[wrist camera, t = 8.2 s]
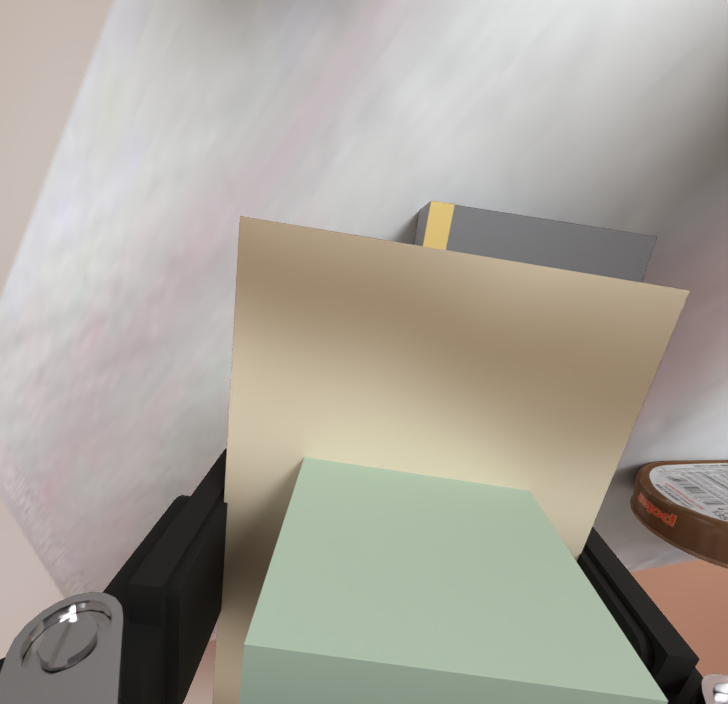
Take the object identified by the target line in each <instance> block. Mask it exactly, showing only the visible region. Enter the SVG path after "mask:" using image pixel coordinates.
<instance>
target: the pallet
mask: <svg viewBox="0 0 728 704" xmlns="http://www.w3.org/2000/svg"><path fill="white" fill-rule="evenodd" d="M689 292H690V291H689V290H683V289H677V288H671V287H665V286H659V285H653V284H647V283H641V282H635V281H629V280H623V279H617V278H611V277H605V276H599V275H593V274H587V273H581V272H575V271H569V270H563V269H557V268H551V267H545V266H539V265H533V264H527V263H521V262H515V261H509V260H502V259H496V258H490V257H484V256H478V255H472V254H466V253H460V252H454V251H448V250H442V249H436V248H430V247H424V246H418V245H412V244H406V243H400V242H394V241H388V240H382V239H376V238H370V237H364V236H358V235H352V234H346V233H340V232H334V231H328V230H322V229H316V228H310V227H304V226H298V225H292V224H286V223H279V222H273V221H267V220H261V219H255V218H249V217H243V216H240V224H239V242H238V260H237V278H236V296H235V313H234V331H233V349H232V367H231V385H230V403H229V421H228V439H227V456H226V474H225V492H224V502H226V503H228V506H227V523H226V540H225V557H224V573H223V590H222V607H221V612H220V615H219V617H218V620H217V635H216V653H215V655H216V656H215V671H214V690H213V704H239V699H240V687H241V675H242V663H243V651H244V643H245V640H246V637H247V634H248V631H249V628H250V624H251V621H252V618H253V615H254V612H255V609H256V606H257V603H258V600H259V596H260V593H261V590H262V587H263V584H264V581H265V578H266V575H267V572H268V569H269V565H270V562H271V559H272V556H273V553H274V550H275V547H276V544H277V541H278V537H279V534H280V531H281V528H282V525H283V522H284V519H285V516H286V513H287V510H288V506H289V503H290V500H291V497H292V494H293V491H294V488H295V485H296V482H297V478H298V475H299V472H300V469H301V466H302V463H303V460H304V457H306V458H313V459H320V460H326V461H333V462H340V463H347V464H353V465H360V466H367V467H374V468H380V469H387V470H394V471H401V472H407V473H414V474H421V475H428V476H434V477H441V478H448V479H455V480H461V481H468V482H475V483H482V484H488V485H495V486H502V487H509V488H515V489H522V490H529V491H530V492H531V493H532V495H533V496H534V498H535V499H536V501H537V503H538V504H539V506H540V507H541V509H542V510H543V512H544V513H545V515H546V516H547V518H548V519H549V521H550V522H551V524H552V525H553V527H554V528H555V530H556V531H557V533H558V534H559V536H560V537H561V539H562V541H563V542H564V544H565V545H566V547H567V548H568V550H569V551H570V553H571V554H572V556H573V557H574V559H575V560H576V562H577V560H578V557H579V555H580V554H581V553H582V550H583V548H584V545H585V543H586V541H587V538H588V536H589V533H590V531H591V529H592V526H593V524H594V521H595V519H596V516H597V514H598V512H599V509H600V507H601V504H602V502H603V500H604V497H605V495H606V492H607V490H608V487H609V485H610V483H611V480H612V478H613V475H614V473H615V471H616V468H617V466H618V463H619V461H620V458H621V456H622V454H623V451H624V449H625V446H626V444H627V442H628V439H629V437H630V434H631V432H632V430H633V427H634V425H635V422H636V420H637V417H638V415H639V413H640V410H641V408H642V405H643V403H644V401H645V398H646V396H647V393H648V391H649V388H650V386H651V384H652V381H653V379H654V376H655V374H656V372H657V369H658V367H659V364H660V362H661V359H662V357H663V355H664V352H665V350H666V347H667V345H668V343H669V340H670V338H671V335H672V333H673V330H674V328H675V326H676V323H677V321H678V318H679V316H680V314H681V311H682V309H683V306H684V304H685V302H686V299H687V297H688V294H689Z"/></svg>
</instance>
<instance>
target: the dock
mask: <svg viewBox="0 0 728 704" xmlns="http://www.w3.org/2000/svg"><path fill="white" fill-rule="evenodd" d="M656 239H657V237H656V236H649V235H643V234H637V233H630V232H624V231H618V230H611V229H605V228H598V227H592V226H586V225H579V224H573V223H567V222H560V221H554V220H548V219H541V218H535V217H528V216H522V215H516V214H509V213H503V212H497V211H490V210H484V209H478V208H471V207H465V206H459V205H455V204H449V203H443V202H436V201H431V202H429V203H428V204H427V205H426V206H424V207H423V208H422V209H421V210H419V215H418V221H417V227H416V233H415V238H414V244H413V245H418V246H424V247H430V248H436V249H442V250H448V251H454V252H460V253H466V254H472V255H478V256H484V257H490V258H496V259H502V260H509V261H515V262H521V263H527V264H533V265H539V266H545V267H551V268H557V269H563V270H569V271H575V272H581V273H587V274H593V275H599V276H605V277H611V278H617V279H623V280H629V281H635V282H641V281H642V279H643V276H644V273H645V270H646V267H647V264H648V262H649V259H650V256H651V253H652V250H653V247H654V244H655V242H656Z"/></svg>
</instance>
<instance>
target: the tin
mask: <svg viewBox="0 0 728 704" xmlns="http://www.w3.org/2000/svg"><path fill="white" fill-rule="evenodd" d="M630 504H631V508H632V511H633V512H634V514H635V516H636V517H637V518H638V519H639V521H640V522H641V523H642V524H643V525H644V526H646V527H647V528H648V529H649V530H650V531H652V532H653V533H654V534H656V535H657V536H658V537H660V538H661V539H663V540H664V541H666V542H668V543H670V544H671V545H673V546H675V547H677V548H679V549H681V550H682V551H684V552H686V553H688V554H691V555H693V556H695V557H697V558H699V559H702V560H704V561H707V562H709V563H712V564H715V565H718V566H721V567H724V568H728V460H703V461H661V462H653V463H649V464H646V465H644V466H643V467H641V468H640V469H639V471H638V473H637V476H636V480H635V486H634V493H633V495H632V497H631V500H630Z"/></svg>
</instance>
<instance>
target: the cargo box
mask: <svg viewBox="0 0 728 704" xmlns="http://www.w3.org/2000/svg"><path fill="white" fill-rule="evenodd" d="M667 703H668V700H667V698H666V697H665V695H664V694H663V692H662V691H661V689H660V688H659V686H658V685H657V683H656V682H655V680H654V679H653V677H652V676H651V674H650V673H649V671H648V670H647V668H646V667H645V665H644V664H643V662H642V661H641V659H640V657H639V656H638V654H637V653H636V651H635V650H634V648H633V647H632V645H631V644H630V642H629V641H628V639H627V638H626V636H625V635H624V633H623V632H622V630H621V629H620V627H619V626H618V624H617V623H616V621H615V620H614V618H613V616H612V615H611V613H610V612H609V610H608V609H607V607H606V606H605V604H604V603H603V601H602V600H601V598H600V597H599V595H598V594H597V592H596V591H595V589H594V588H593V586H592V585H591V583H590V582H589V580H588V578H587V577H586V575H585V574H584V572H583V571H582V569H581V568H580V566H579V565H578V563H577V562H576V560H575V559H574V557H573V556H572V554H571V553H570V551H569V550H568V548H567V547H566V545H565V544H564V542H563V541H562V539H561V537H560V536H559V534H558V533H557V531H556V530H555V528H554V527H553V525H552V524H551V522H550V521H549V519H548V518H547V516H546V515H545V513H544V512H543V510H542V509H541V507H540V506H539V504H538V503H537V501H536V499H535V498H534V496H533V495H532V493H531V492H530V491H529V490H522V489H515V488H509V487H502V486H495V485H488V484H482V483H475V482H468V481H461V480H455V479H448V478H441V477H434V476H428V475H421V474H414V473H407V472H401V471H394V470H387V469H380V468H374V467H367V466H360V465H353V464H347V463H340V462H333V461H326V460H320V459H313V458H306V457H304V460H303V463H302V466H301V469H300V472H299V475H298V478H297V482H296V485H295V488H294V491H293V494H292V497H291V500H290V503H289V506H288V510H287V513H286V516H285V519H284V522H283V525H282V528H281V531H280V534H279V537H278V541H277V544H276V547H275V550H274V553H273V556H272V559H271V562H270V565H269V569H268V572H267V575H266V578H265V581H264V584H263V587H262V590H261V593H260V596H259V600H258V603H257V606H256V609H255V612H254V615H253V618H252V621H251V624H250V628H249V631H248V634H247V637H246V640H245V643H244V651H243V663H242V675H241V687H240V699H239V704H667Z"/></svg>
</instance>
